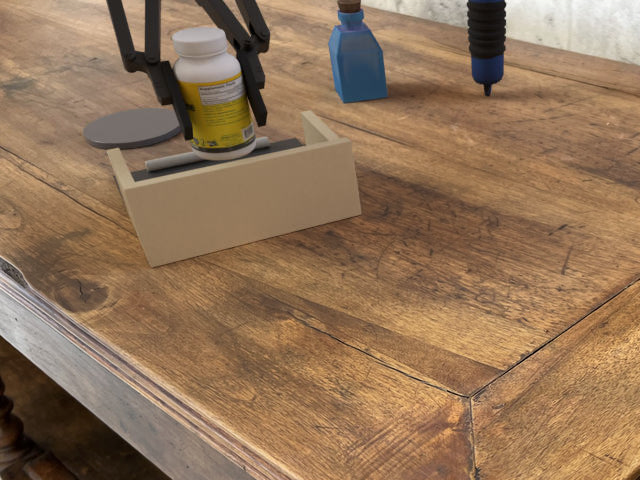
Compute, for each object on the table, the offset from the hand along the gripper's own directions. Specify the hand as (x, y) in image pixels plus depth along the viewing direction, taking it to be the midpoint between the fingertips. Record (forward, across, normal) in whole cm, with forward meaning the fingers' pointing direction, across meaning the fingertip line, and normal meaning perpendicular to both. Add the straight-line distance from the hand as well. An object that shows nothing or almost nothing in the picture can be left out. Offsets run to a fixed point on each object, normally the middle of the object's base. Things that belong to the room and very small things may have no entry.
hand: (226, 126), depth 75 cm
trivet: (-16, +6, -31) cm, 36 cm away
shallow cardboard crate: (+2, 0, -13) cm, 13 cm away
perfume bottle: (-15, -24, -30) cm, 41 cm away
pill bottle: (0, 0, -5) cm, 5 cm away
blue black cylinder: (-8, -39, -22) cm, 46 cm away
